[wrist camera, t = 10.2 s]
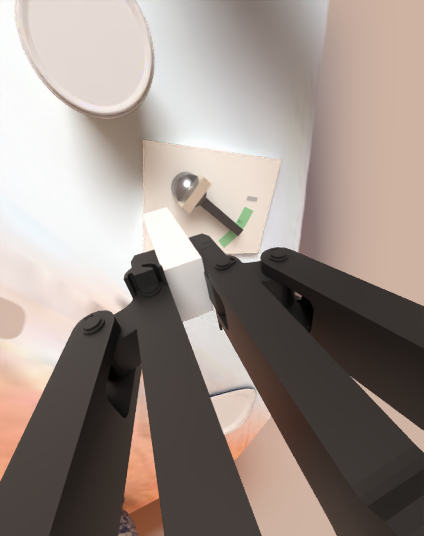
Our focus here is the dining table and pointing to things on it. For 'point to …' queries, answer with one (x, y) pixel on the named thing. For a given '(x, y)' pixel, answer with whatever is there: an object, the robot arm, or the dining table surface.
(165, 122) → the dining table surface
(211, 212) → the dark grey lever
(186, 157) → the gauge board
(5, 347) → the dining table surface
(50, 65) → the coffee cup
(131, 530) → the decorative vase
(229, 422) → the plate
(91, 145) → the dining table surface
